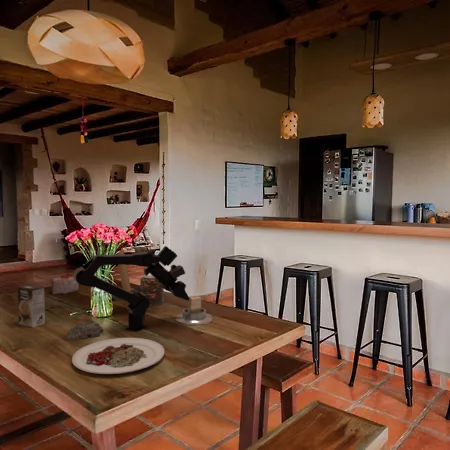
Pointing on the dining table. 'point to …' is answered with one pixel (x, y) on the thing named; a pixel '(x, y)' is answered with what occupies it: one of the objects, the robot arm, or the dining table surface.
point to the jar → (152, 290)
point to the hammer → (124, 278)
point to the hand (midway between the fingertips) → (185, 297)
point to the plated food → (118, 355)
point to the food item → (64, 285)
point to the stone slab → (85, 331)
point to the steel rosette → (194, 318)
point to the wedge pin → (194, 304)
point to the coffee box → (31, 305)
